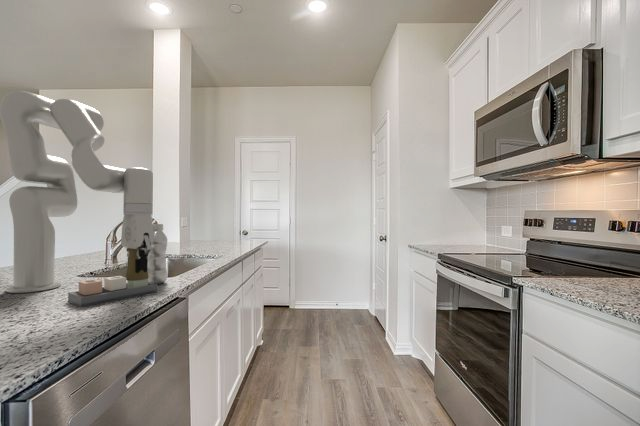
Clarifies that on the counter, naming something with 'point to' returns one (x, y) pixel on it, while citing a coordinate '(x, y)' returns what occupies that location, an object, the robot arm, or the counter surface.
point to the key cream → (115, 283)
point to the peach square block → (90, 287)
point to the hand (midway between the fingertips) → (137, 270)
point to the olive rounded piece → (131, 273)
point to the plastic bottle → (157, 256)
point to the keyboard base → (109, 295)
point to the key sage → (137, 283)
